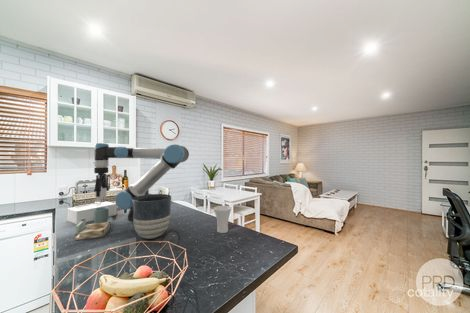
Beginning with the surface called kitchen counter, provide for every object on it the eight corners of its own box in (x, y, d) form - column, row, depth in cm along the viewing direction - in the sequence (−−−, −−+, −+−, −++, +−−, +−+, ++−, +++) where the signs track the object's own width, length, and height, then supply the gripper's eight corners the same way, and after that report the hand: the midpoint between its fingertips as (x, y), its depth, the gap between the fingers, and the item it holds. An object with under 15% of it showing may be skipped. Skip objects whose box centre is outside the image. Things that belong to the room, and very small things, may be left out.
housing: (109, 227, 118) (109, 222, 118) (104, 236, 105) (104, 229, 105) (83, 230, 113) (83, 224, 113) (74, 240, 100) (74, 233, 100)
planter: (178, 232, 110) (178, 195, 111) (153, 247, 92) (153, 202, 92) (151, 228, 117) (151, 193, 117) (123, 241, 98) (123, 199, 99)
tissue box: (116, 214, 146) (116, 200, 146) (76, 224, 125) (76, 207, 125) (106, 212, 153) (106, 198, 154) (67, 221, 132) (67, 205, 132)
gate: (85, 226, 119) (85, 217, 119) (78, 233, 108) (78, 223, 108) (82, 227, 119) (82, 217, 119) (75, 234, 108) (75, 223, 108)
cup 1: (100, 226, 120) (101, 210, 120) (90, 225, 122) (90, 209, 122) (111, 222, 128) (111, 207, 128) (101, 221, 129) (101, 206, 130)
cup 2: (234, 229, 115) (234, 206, 115) (226, 235, 106) (226, 211, 106) (219, 226, 120) (219, 205, 120) (210, 232, 110) (210, 209, 110)
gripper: (99, 166, 135) (99, 196, 135) (88, 168, 112) (88, 204, 112) (112, 166, 138) (111, 195, 138) (103, 167, 115) (103, 203, 115)
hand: (101, 199), depth 125 cm, fingers open, 13 cm apart
